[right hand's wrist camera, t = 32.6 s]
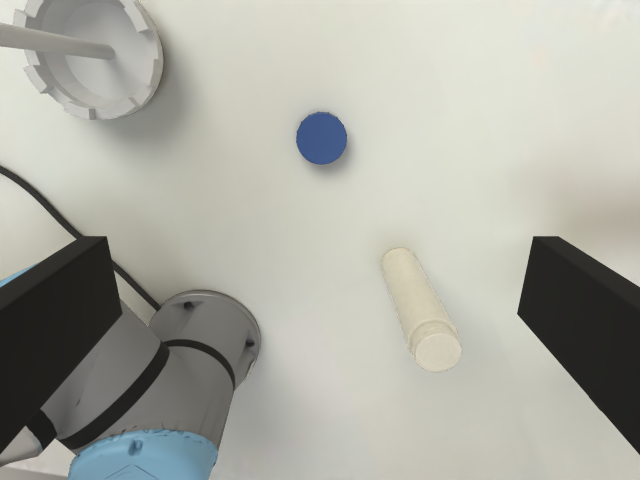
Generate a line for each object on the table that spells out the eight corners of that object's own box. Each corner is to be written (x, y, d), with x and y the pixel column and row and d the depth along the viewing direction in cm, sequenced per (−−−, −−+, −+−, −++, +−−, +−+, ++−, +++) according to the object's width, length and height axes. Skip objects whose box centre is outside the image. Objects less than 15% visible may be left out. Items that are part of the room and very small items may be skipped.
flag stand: (132, 141, 46) (-167, 225, 18) (27, 59, 42) (-537, 4, 14) (197, 47, 42) (-48, -34, 14) (88, -50, 39) (-504, -400, 11)
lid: (351, 152, 46) (353, 155, 44) (306, 167, 47) (305, 171, 45) (337, 104, 44) (338, 105, 42) (290, 121, 45) (289, 122, 43)
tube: (374, 259, 51) (402, 346, 34) (406, 241, 50) (451, 321, 33) (391, 286, 53) (426, 383, 35) (422, 269, 52) (474, 360, 34)
